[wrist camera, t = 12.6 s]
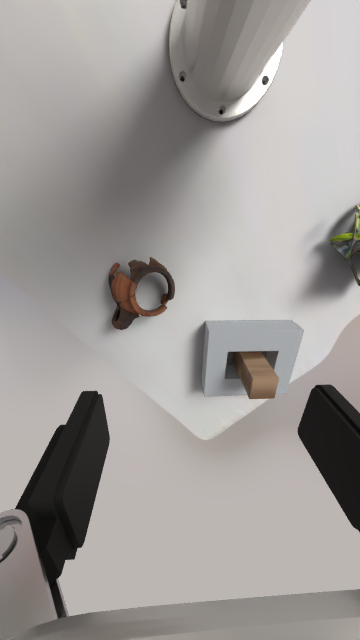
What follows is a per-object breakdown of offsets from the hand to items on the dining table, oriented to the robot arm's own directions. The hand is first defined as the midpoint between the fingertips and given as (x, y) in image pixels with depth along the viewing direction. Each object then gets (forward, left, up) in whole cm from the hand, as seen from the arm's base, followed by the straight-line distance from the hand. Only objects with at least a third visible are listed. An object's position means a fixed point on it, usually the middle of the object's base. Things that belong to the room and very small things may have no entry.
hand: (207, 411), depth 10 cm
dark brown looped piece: (+3, -7, -29) cm, 29 cm away
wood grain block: (+16, +13, -28) cm, 35 cm away
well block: (+16, +13, -28) cm, 35 cm away
